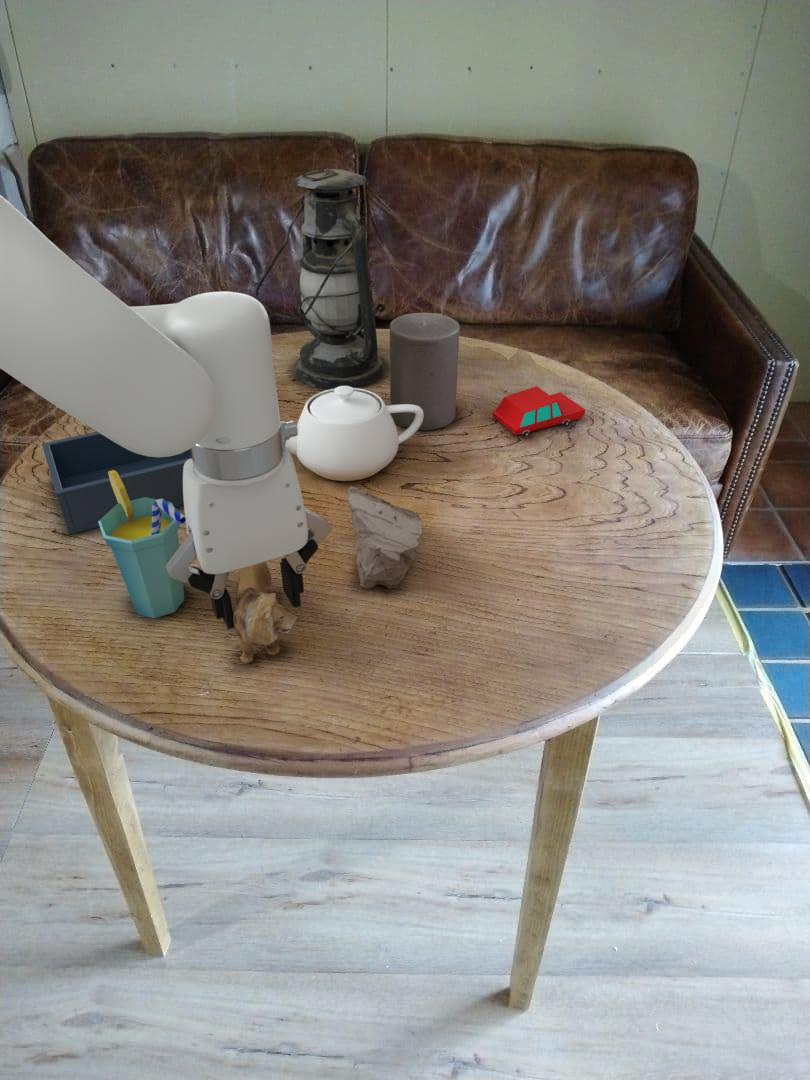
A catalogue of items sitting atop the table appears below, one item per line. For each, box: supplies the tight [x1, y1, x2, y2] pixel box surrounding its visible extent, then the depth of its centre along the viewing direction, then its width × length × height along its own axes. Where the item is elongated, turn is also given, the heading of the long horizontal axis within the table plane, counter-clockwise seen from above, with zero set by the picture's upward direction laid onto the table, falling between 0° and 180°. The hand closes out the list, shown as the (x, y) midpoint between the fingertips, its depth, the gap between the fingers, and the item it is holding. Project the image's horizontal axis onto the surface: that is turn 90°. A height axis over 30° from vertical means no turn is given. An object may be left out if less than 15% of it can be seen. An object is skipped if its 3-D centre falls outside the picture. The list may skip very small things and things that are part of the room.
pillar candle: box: [389, 312, 461, 431], centre depth 112 cm, size 10×10×15 cm
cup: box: [98, 470, 186, 619], centre depth 78 cm, size 14×8×15 cm, turn 50°
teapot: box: [285, 386, 424, 482], centre depth 102 cm, size 22×14×11 cm, turn 101°
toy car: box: [491, 385, 587, 437], centre depth 114 cm, size 6×12×4 cm, turn 117°
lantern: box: [255, 168, 386, 390], centre depth 118 cm, size 19×19×30 cm
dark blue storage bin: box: [41, 431, 192, 535], centre depth 99 cm, size 18×13×6 cm
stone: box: [347, 485, 423, 590], centre depth 87 cm, size 15×9×10 cm
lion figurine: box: [233, 561, 297, 664], centre depth 77 cm, size 15×5×9 cm, turn 20°
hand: (260, 607), depth 77 cm, fingers open, 5 cm apart
